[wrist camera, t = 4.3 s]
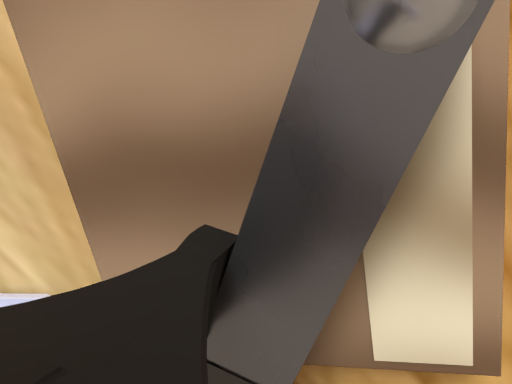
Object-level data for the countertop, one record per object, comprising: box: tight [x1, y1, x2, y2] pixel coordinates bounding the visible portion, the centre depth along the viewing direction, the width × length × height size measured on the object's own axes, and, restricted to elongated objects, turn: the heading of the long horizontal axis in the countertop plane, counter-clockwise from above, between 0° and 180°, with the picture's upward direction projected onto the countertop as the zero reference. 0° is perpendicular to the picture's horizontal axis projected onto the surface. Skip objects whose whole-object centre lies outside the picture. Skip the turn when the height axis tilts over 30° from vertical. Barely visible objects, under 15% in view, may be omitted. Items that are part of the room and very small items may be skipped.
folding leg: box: [207, 0, 495, 384], centre depth 9 cm, size 11×2×2 cm, turn 161°
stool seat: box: [3, 0, 510, 376], centre depth 12 cm, size 12×12×3 cm
